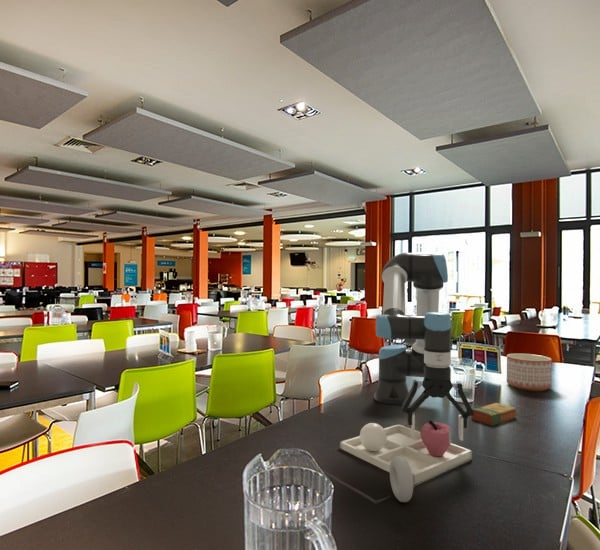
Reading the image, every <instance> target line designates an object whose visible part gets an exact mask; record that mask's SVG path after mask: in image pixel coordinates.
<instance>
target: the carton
mask: <svg viewBox="0 0 600 550" xmlns="http://www.w3.org/2000/svg"><path fill="white" fill-rule="evenodd" d="M472 410H473V412H474V415H473V416H471V420H473V421H477V422H480V423H483V424H486V425H489V426H495V425H497V424H501V423H504V422H507V421H510V420H512V419H515V417H516V418H517V413H516V412H517V408H516V407H513V406H511V405H506V404H504V403H503V404H502V403H499V402H493V403H490V404H486V405H484V406H479V407H475V408H472Z"/></svg>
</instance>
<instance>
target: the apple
mask: <svg viewBox="0 0 600 550" xmlns="http://www.w3.org/2000/svg"><path fill="white" fill-rule="evenodd" d="M419 432H420V434H421V439H422V441H423V443H424V444H425V446H426V448H427V450H428V452H429V453H430V454H431V455H433V456H443V455H444V453H445V452H446V450H447V449H448V447H449V446H450V445H451V443H452V428H451V427H450V426H449V425H448V424H446V423H443V422H437V421H432V420H429V421H428V422H426V423H424V424H423V425H422V427H421V430H420V431H419Z"/></svg>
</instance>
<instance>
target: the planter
mask: <svg viewBox="0 0 600 550" xmlns="http://www.w3.org/2000/svg"><path fill="white" fill-rule="evenodd" d="M552 361H553V360H552V358H551V357H548V356H544V355H538V354H532V353H508V354H506V383H507V384H508V385H510V386H511V387H512V386H513V387H512V388H514V387H515V388H514V389H517V388H518V389H517V390H521V389H522V390H521V391H527V390H528V391H529V392H545V391H547V390H549V389H551V388H552V363H553V362H552ZM528 391H527V392H528Z"/></svg>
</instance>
